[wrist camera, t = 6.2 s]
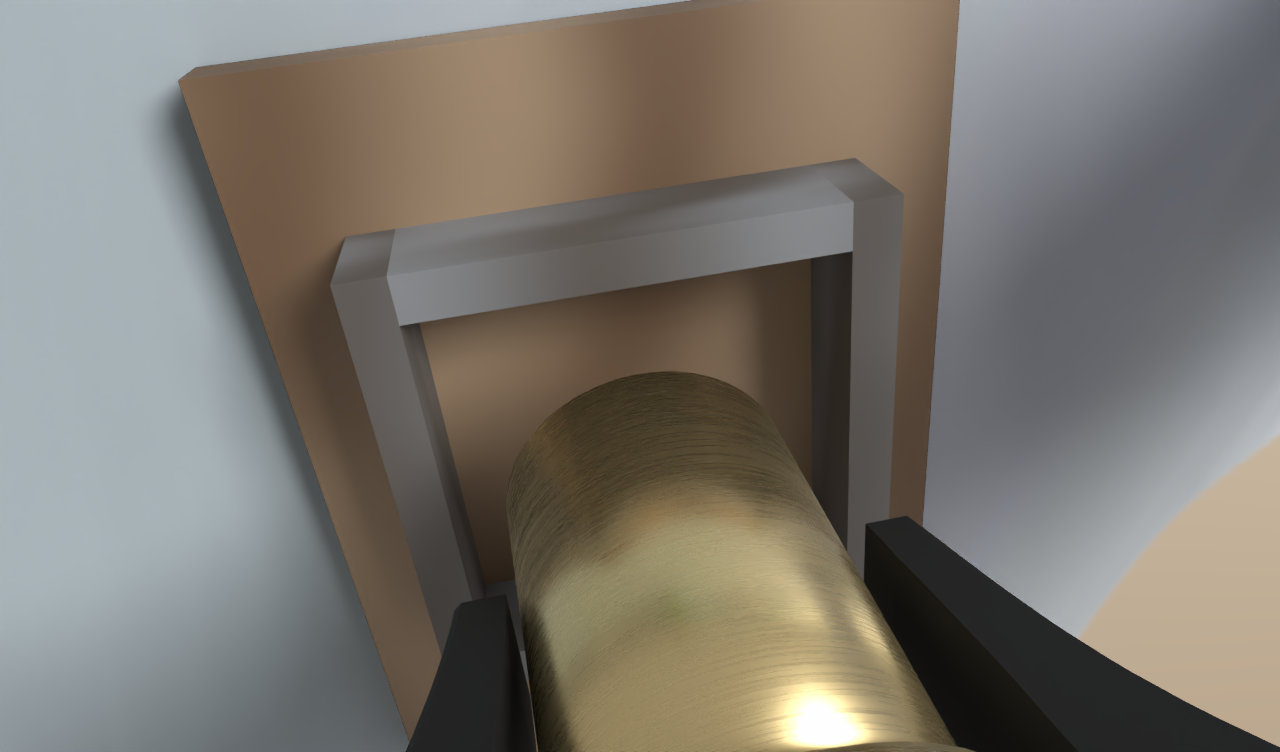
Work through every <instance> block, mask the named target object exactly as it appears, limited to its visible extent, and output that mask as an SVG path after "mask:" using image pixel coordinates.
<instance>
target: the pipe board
mask: <svg viewBox="0 0 1280 752" xmlns="http://www.w3.org/2000/svg"><path fill="white" fill-rule="evenodd" d="M959 4H960V0H692V1H684V2H677V3H669V4H662V5H654V6H647V7H640V8H632V9H625V10H617V11H610V12H603V13H595V14H588V15H580V16H573V17H566V18H558V19H551V20H543V21H536V22H529V23H521V24H514V25H506V26H499V27H491V28H484V29H477V30H469V31H462V32H454V33H447V34H440V35H432V36H425V37H417V38H410V39H403V40H395V41H388V42H380V43H373V44H366V45H358V46H351V47H343V48H336V49H329V50H321V51H314V52H306V53H299V54H291V55H284V56H277V57H269V58H262V59H254V60H247V61H240V62H232V63H225V64H217V65H210V66H203V67H196V68H194V69H193V70H192V71H190V72H189V73H187V74H186V75H185V76H183V77H182V78H181V79H179V80H178V82H179V85H180V88H181V90H182V93H183V96H184V99H185V102H186V105H187V108H188V110H189V113H190V116H191V119H192V122H193V125H194V128H195V130H196V133H197V136H198V139H199V142H200V145H201V148H202V150H203V153H204V156H205V159H206V162H207V165H208V168H209V170H210V173H211V176H212V179H213V182H214V185H215V188H216V190H217V193H218V196H219V199H220V202H221V205H222V208H223V210H224V213H225V216H226V219H227V222H228V225H229V228H230V230H231V233H232V236H233V239H234V242H235V245H236V248H237V250H238V253H239V256H240V259H241V262H242V265H243V268H244V270H245V273H246V276H247V279H248V282H249V285H250V288H251V290H252V293H253V296H254V299H255V302H256V305H257V308H258V310H259V313H260V316H261V319H262V322H263V325H264V328H265V330H266V333H267V336H268V339H269V342H270V345H271V348H272V350H273V353H274V356H275V359H276V362H277V365H278V368H279V370H280V373H281V376H282V379H283V382H284V385H285V388H286V390H287V393H288V396H289V399H290V402H291V405H292V408H293V410H294V413H295V416H296V419H297V422H298V425H299V428H300V430H301V433H302V436H303V439H304V442H305V445H306V448H307V450H308V453H309V456H310V459H311V462H312V465H313V468H314V470H315V473H316V476H317V479H318V482H319V485H320V488H321V490H322V493H323V496H324V499H325V502H326V505H327V508H328V510H329V513H330V516H331V519H332V522H333V525H334V528H335V530H336V533H337V536H338V539H339V542H340V545H341V548H342V550H343V553H344V556H345V559H346V562H347V565H348V568H349V570H350V573H351V576H352V579H353V582H354V585H355V588H356V590H357V593H358V596H359V599H360V602H361V605H362V608H363V610H364V613H365V616H366V619H367V622H368V625H369V628H370V630H371V633H372V636H373V639H374V642H375V645H376V648H377V650H378V653H379V656H380V659H381V662H382V665H383V668H384V670H385V673H386V676H387V679H388V682H389V685H390V688H391V690H392V693H393V696H394V699H395V702H396V705H397V708H398V710H399V713H400V716H401V719H402V722H403V725H404V728H405V730H406V733H407V736H408V739H409V742H410V740H411V738H412V736H413V733H414V730H415V728H416V725H417V723H418V720H419V718H420V715H421V713H422V710H423V708H424V705H425V702H426V700H427V697H428V695H429V692H430V690H431V687H432V684H433V681H434V678H435V675H436V672H437V670H438V667H439V664H440V661H441V658H442V654H443V651H444V648H445V645H446V641H447V638H448V634H449V631H450V627H451V623H452V619H453V614H454V611H455V609H456V608H457V607H458V606H459V605H460V604H461V603H463V602H468V601H473V600H478V599H484V598H489V597H494V596H499V595H504V594H506V597H507V601H508V605H509V609H510V613H511V618H512V622H513V626H514V630H515V634H516V639H517V643H518V647H519V651H520V655H521V660H522V664H523V668H524V672H525V676H526V681H527V685H528V689H529V693H530V686H529V679H528V671H527V664H526V656H525V648H524V641H523V633H522V626H521V618H520V610H519V603H518V595H517V588H516V580H515V573H514V565H513V557H512V550H511V542H510V535H509V527H508V519H507V512H506V491H507V486H508V481H509V476H510V474H511V471H512V468H513V465H514V463H515V461H516V459H517V457H518V455H519V453H520V451H521V449H522V448H523V446H524V445H525V443H526V442H527V441H528V439H529V438H530V437H531V435H532V434H533V432H534V431H535V430H536V429H537V428H538V427H539V426H540V425H541V424H542V423H543V422H544V421H545V420H546V419H547V418H548V417H549V416H551V415H552V414H553V413H554V412H555V411H557V410H558V409H559V408H560V407H562V406H563V405H565V404H566V403H568V402H569V401H571V400H572V399H574V398H575V397H577V396H579V395H581V394H583V393H585V392H587V391H589V390H591V389H593V388H595V387H597V386H599V385H602V384H605V383H607V382H610V381H613V380H616V379H620V378H623V377H627V376H631V375H636V374H643V373H650V372H664V371H677V372H689V373H696V374H701V375H705V376H710V377H713V378H716V379H719V380H722V381H724V382H727V383H729V384H731V385H733V386H735V387H737V388H739V389H741V390H742V391H744V392H745V393H746V394H748V395H749V396H750V397H752V398H753V399H754V400H755V401H756V402H757V403H758V404H759V405H760V406H761V407H762V408H763V409H764V410H765V411H766V412H767V414H768V415H769V417H770V418H771V420H772V421H773V423H774V424H775V426H776V428H777V430H778V431H779V433H780V435H781V437H782V439H783V440H784V442H785V444H786V446H787V447H788V449H789V451H790V453H791V454H792V456H793V458H794V460H795V461H796V463H797V465H798V467H799V468H800V470H801V472H802V474H803V475H804V477H805V479H806V481H807V483H808V484H809V486H810V488H811V490H812V491H813V493H814V495H815V497H816V498H817V500H818V502H819V504H820V505H821V507H822V509H823V511H824V512H825V514H826V516H827V518H828V519H829V521H830V523H831V525H832V527H833V528H834V530H835V532H836V534H837V535H838V537H839V539H840V541H841V542H842V544H843V546H844V548H845V549H846V551H847V553H848V555H849V556H850V558H851V560H852V562H853V563H854V565H855V567H856V569H857V571H858V572H859V574H860V576H861V578H862V579H863V581H864V555H865V524H866V523H872V522H877V521H882V520H887V519H892V518H897V517H902V516H908V517H910V518H911V519H912V520H914V521H915V522H916V523H918V524H919V525H920V526H921V527H922V523H923V509H924V495H925V481H926V467H927V453H928V439H929V425H930V411H931V397H932V383H933V369H934V355H935V341H936V327H937V313H938V299H939V285H940V271H941V257H942V243H943V229H944V215H945V201H946V187H947V173H948V159H949V145H950V131H951V117H952V103H953V89H954V75H955V61H956V46H957V32H958V18H959ZM530 697H531V694H530ZM531 705H532V701H531ZM532 714H533V709H532ZM533 723H534V717H533ZM534 732H535V724H534ZM535 740H536V750H537V752H538V747H537V739H536V732H535Z"/></svg>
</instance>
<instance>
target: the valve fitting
mask: <svg viewBox="0 0 1280 752" xmlns="http://www.w3.org/2000/svg"><path fill="white" fill-rule="evenodd" d="M506 512H507V519H508V527H509V535H510V542H511V550H512V557H513V565H514V573H515V580H516V588H517V595H518V603H519V610H520V618H521V626H522V633H523V641H524V648H525V656H526V664H527V671H528V679H529V686H530V694H531V701H532V709H533V717H534V724H535V732H536V739H537V747H538V752H975V751H972V750H969V749H966V748H961V747H958V746H957V745H956V743H955V741H954V739H953V738H952V736H951V734H950V732H949V731H948V729H947V727H946V725H945V724H944V722H943V720H942V718H941V717H940V715H939V713H938V711H937V710H936V708H935V706H934V704H933V702H932V701H931V699H930V697H929V695H928V694H927V692H926V690H925V688H924V687H923V685H922V683H921V681H920V680H919V678H918V676H917V674H916V673H915V671H914V669H913V667H912V666H911V664H910V662H909V660H908V658H907V657H906V655H905V653H904V651H903V650H902V648H901V646H900V644H899V643H898V641H897V639H896V637H895V636H894V634H893V632H892V630H891V629H890V627H889V625H888V623H887V622H886V620H885V618H884V616H883V615H882V613H881V611H880V609H879V607H878V606H877V604H876V602H875V600H874V599H873V597H872V595H871V593H870V592H869V590H868V588H867V586H866V585H865V583H864V581H863V579H862V578H861V576H860V574H859V572H858V571H857V569H856V567H855V565H854V563H853V562H852V560H851V558H850V556H849V555H848V553H847V551H846V549H845V548H844V546H843V544H842V542H841V541H840V539H839V537H838V535H837V534H836V532H835V530H834V528H833V527H832V525H831V523H830V521H829V519H828V518H827V516H826V514H825V512H824V511H823V509H822V507H821V505H820V504H819V502H818V500H817V498H816V497H815V495H814V493H813V491H812V490H811V488H810V486H809V484H808V483H807V481H806V479H805V477H804V475H803V474H802V472H801V470H800V468H799V467H798V465H797V463H796V461H795V460H794V458H793V456H792V454H791V453H790V451H789V449H788V447H787V446H786V444H785V442H784V440H783V439H782V437H781V435H780V433H779V431H778V430H777V428H776V426H775V424H774V423H773V421H772V420H771V418H770V417H769V415H768V414H767V412H766V411H765V410H764V409H763V408H762V407H761V406H760V405H759V404H758V403H757V402H756V401H755V400H754V399H753V398H752V397H750V396H749V395H748V394H746V393H745V392H744V391H742V390H741V389H739V388H737V387H735V386H733V385H731V384H729V383H727V382H724V381H722V380H719V379H716V378H713V377H710V376H705V375H701V374H696V373H689V372H677V371H664V372H650V373H643V374H636V375H631V376H627V377H623V378H620V379H616V380H613V381H610V382H607V383H605V384H602V385H599V386H597V387H595V388H593V389H591V390H589V391H587V392H585V393H583V394H581V395H579V396H577V397H575V398H574V399H572V400H571V401H569V402H568V403H566V404H565V405H563V406H562V407H560V408H559V409H558V410H557V411H555V412H554V413H553V414H552V415H551V416H549V417H548V418H547V419H546V420H545V421H544V422H543V423H542V424H541V425H540V426H539V427H538V428H537V429H536V430H535V431H534V432H533V434H532V435H531V437H530V438H529V439H528V441H527V442H526V443H525V445H524V446H523V448H522V449H521V451H520V453H519V455H518V457H517V459H516V461H515V463H514V465H513V468H512V471H511V474H510V476H509V481H508V486H507V491H506Z"/></svg>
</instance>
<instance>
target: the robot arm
mask: <svg viewBox="0 0 1280 752" xmlns="http://www.w3.org/2000/svg"><path fill="white" fill-rule="evenodd" d="M864 583H865V585H866V586H867V588H868V590H869V592H870V593H871V595H872V597H873V599H874V600H875V602H876V604H877V606H878V607H879V609H880V611H881V613H882V615H883V616H884V618H885V620H886V622H887V623H888V625H889V627H890V629H891V630H892V632H893V634H894V636H895V637H896V639H897V641H898V643H899V644H900V646H901V648H902V650H903V651H904V653H905V655H906V657H907V658H908V660H909V662H910V664H911V666H912V667H913V669H914V671H915V673H916V674H917V676H918V678H919V680H920V681H921V683H922V685H923V687H924V688H925V690H926V692H927V694H928V695H929V697H930V699H931V701H932V702H933V704H934V706H935V708H936V710H937V711H938V713H939V715H940V717H941V718H942V720H943V722H944V724H945V725H946V727H947V729H948V731H949V732H950V734H951V736H952V738H953V739H954V741H955V743H956V745H957V746H958V747H961V748H966V749H969V750H972V751H975V752H1280V747H1278V746H1276V745H1273V744H1271V743H1269V742H1267V741H1265V740H1263V739H1261V738H1259V737H1257V736H1254V735H1252V734H1250V733H1248V732H1246V731H1244V730H1242V729H1240V728H1238V727H1235V726H1233V725H1231V724H1229V723H1227V722H1225V721H1223V720H1220V719H1219V718H1216V717H1214V716H1212V715H1211V714H1209V713H1207V712H1205V711H1203V710H1201V709H1199V708H1197V707H1195V706H1193V705H1191V704H1189V703H1187V702H1185V701H1183V700H1181V699H1179V698H1178V697H1176V696H1174V695H1172V694H1170V693H1169V692H1167V691H1165V690H1163V689H1161V688H1160V687H1158V686H1156V685H1154V684H1152V683H1150V682H1148V681H1147V680H1145V679H1143V678H1141V677H1139V676H1137V675H1136V674H1134V673H1132V672H1130V671H1129V670H1127V669H1125V668H1124V667H1122V666H1120V665H1119V664H1117V663H1115V662H1114V661H1112V660H1110V659H1109V658H1107V657H1105V656H1104V655H1102V654H1100V653H1099V652H1097V651H1096V650H1094V649H1093V648H1091V647H1089V646H1088V645H1086V644H1085V643H1083V642H1082V641H1080V640H1078V639H1077V638H1075V637H1074V636H1072V635H1071V634H1069V633H1067V632H1066V631H1064V630H1063V629H1061V628H1060V627H1058V626H1057V625H1055V624H1054V623H1052V622H1051V621H1049V620H1048V619H1046V618H1045V617H1043V616H1042V615H1040V614H1039V613H1038V612H1036V611H1035V610H1033V609H1032V608H1031V607H1029V606H1028V605H1026V604H1025V603H1023V602H1022V601H1021V600H1019V599H1018V598H1016V597H1015V596H1014V595H1012V594H1011V593H1009V592H1008V591H1007V590H1005V589H1004V588H1002V587H1001V586H1000V585H998V584H997V583H996V582H994V581H993V580H991V579H990V578H989V577H987V576H986V575H985V574H983V573H982V572H981V571H979V570H978V569H977V568H975V567H974V566H973V565H971V564H970V563H969V562H967V561H966V560H965V559H963V558H962V557H961V556H960V555H958V554H957V553H956V552H954V551H953V550H952V549H950V548H949V547H948V546H946V545H945V544H944V543H943V542H941V541H940V540H939V539H937V538H936V537H935V536H933V535H932V534H931V533H929V532H928V531H927V530H925V529H924V528H923V527H921V526H920V525H919V524H918V523H916V522H915V521H914V520H912V519H911V518H910V517H908V516H902V517H897V518H892V519H887V520H882V521H877V522H872V523H866V524H865V555H864ZM406 752H537V750H536V740H535V732H534V723H533V714H532V705H531V697H530V693H529V689H528V685H527V681H526V676H525V672H524V668H523V664H522V660H521V655H520V651H519V647H518V643H517V639H516V634H515V630H514V626H513V622H512V618H511V613H510V609H509V605H508V601H507V597H506V594H504V595H499V596H494V597H489V598H484V599H478V600H473V601H468V602H463V603H461V604H460V605H459V606H458V607H457V608H456V609H455V611H454V614H453V619H452V623H451V627H450V631H449V634H448V638H447V641H446V645H445V648H444V651H443V654H442V658H441V661H440V664H439V667H438V670H437V672H436V675H435V678H434V681H433V684H432V687H431V690H430V692H429V695H428V697H427V700H426V702H425V705H424V708H423V710H422V713H421V715H420V718H419V720H418V723H417V725H416V728H415V730H414V733H413V736H412V738H411V740H410V743H409V745H408V747H407V750H406Z"/></svg>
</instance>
